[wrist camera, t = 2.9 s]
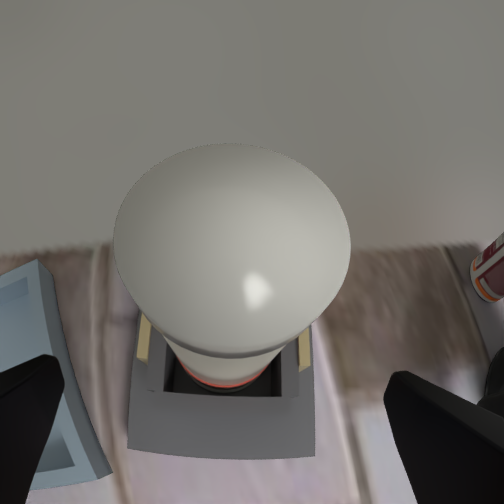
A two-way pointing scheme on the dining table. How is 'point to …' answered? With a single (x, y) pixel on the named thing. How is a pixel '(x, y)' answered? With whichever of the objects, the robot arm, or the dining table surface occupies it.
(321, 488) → the dining table surface
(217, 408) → the fuse holder
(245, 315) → the cylinder
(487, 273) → the pill bottle
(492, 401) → the milk frother
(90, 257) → the dining table surface
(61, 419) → the tray
